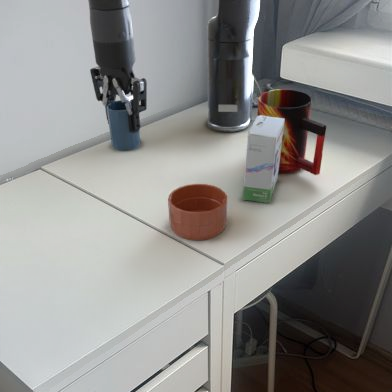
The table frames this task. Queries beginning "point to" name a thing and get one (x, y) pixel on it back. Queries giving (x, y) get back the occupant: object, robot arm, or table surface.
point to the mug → (294, 128)
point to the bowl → (197, 211)
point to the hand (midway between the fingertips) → (123, 127)
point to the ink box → (263, 158)
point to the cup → (121, 127)
